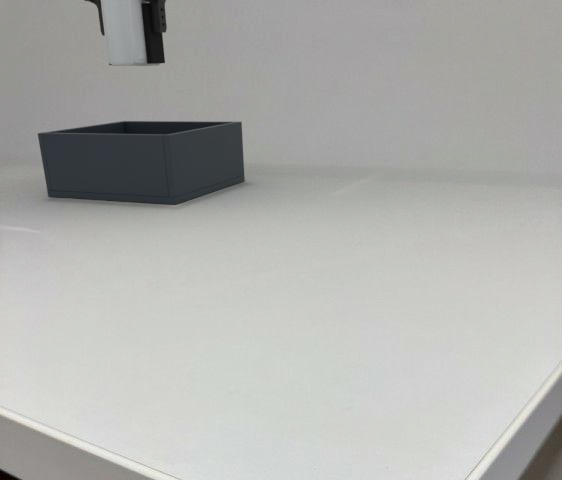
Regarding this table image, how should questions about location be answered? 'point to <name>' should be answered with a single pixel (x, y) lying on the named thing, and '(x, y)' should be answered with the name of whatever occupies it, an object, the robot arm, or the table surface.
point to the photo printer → (124, 32)
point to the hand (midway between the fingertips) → (137, 63)
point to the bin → (143, 160)
